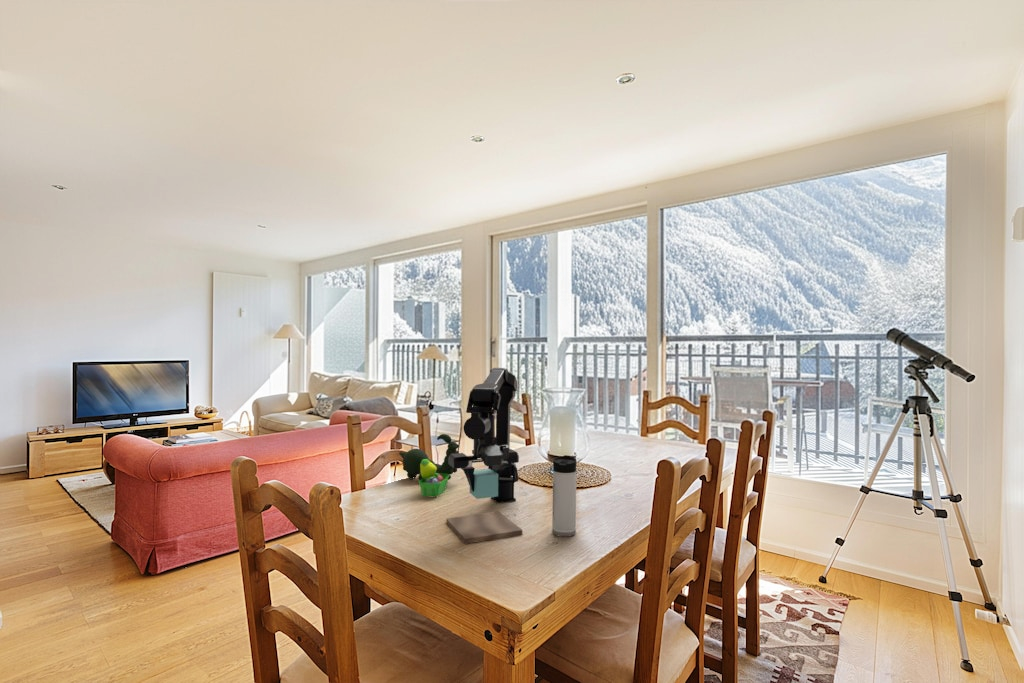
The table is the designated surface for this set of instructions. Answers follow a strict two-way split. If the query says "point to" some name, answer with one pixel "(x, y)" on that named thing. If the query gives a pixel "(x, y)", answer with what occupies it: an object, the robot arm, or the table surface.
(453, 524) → the walnut board
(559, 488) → the travel mug
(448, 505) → the table surface
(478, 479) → the teal cube
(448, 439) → the toy figurine
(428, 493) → the fruit basket
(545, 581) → the table surface
